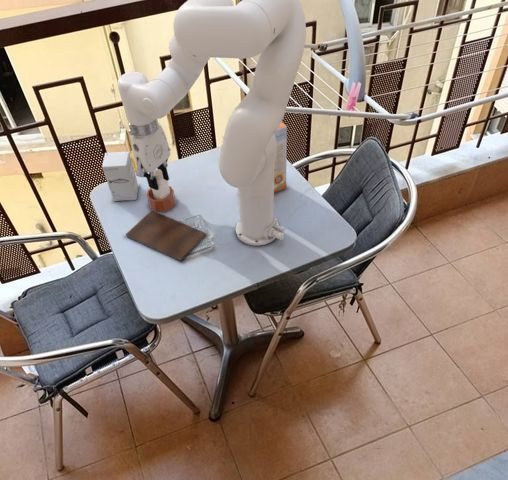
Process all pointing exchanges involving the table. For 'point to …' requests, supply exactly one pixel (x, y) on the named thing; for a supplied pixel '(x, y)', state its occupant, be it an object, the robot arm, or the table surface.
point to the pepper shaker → (161, 186)
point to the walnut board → (166, 235)
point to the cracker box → (280, 158)
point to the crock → (161, 201)
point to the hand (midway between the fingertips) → (159, 183)
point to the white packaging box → (120, 175)
